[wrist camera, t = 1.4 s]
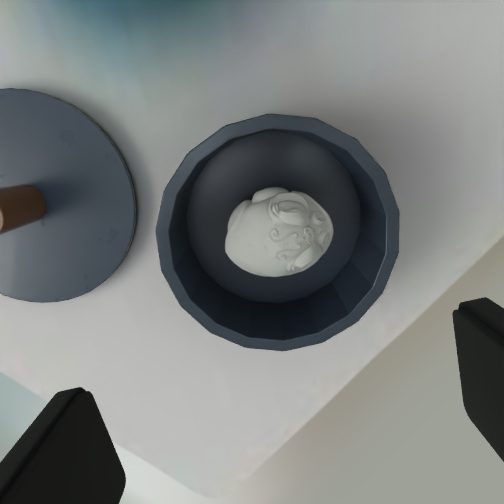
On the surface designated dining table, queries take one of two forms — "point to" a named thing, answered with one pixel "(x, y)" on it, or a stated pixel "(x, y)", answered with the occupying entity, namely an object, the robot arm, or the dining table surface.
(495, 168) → the dining table surface
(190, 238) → the pot
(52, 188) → the lid
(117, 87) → the dining table surface
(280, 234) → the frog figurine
